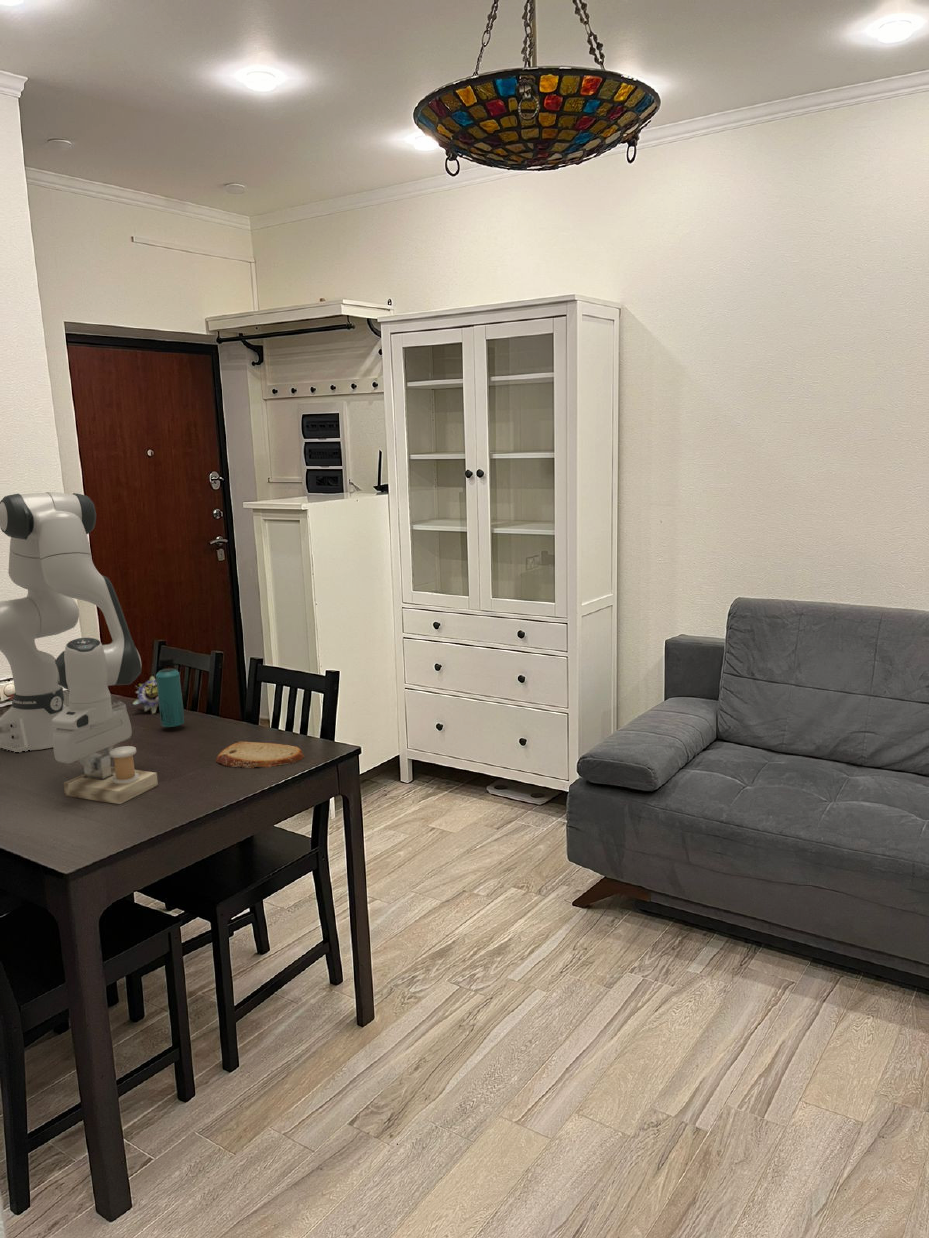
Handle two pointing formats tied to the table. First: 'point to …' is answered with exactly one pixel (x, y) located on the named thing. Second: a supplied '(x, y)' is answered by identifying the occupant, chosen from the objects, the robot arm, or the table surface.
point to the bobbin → (124, 765)
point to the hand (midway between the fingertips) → (97, 769)
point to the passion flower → (148, 695)
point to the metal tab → (100, 766)
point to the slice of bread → (258, 755)
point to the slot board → (109, 787)
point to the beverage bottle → (169, 694)
